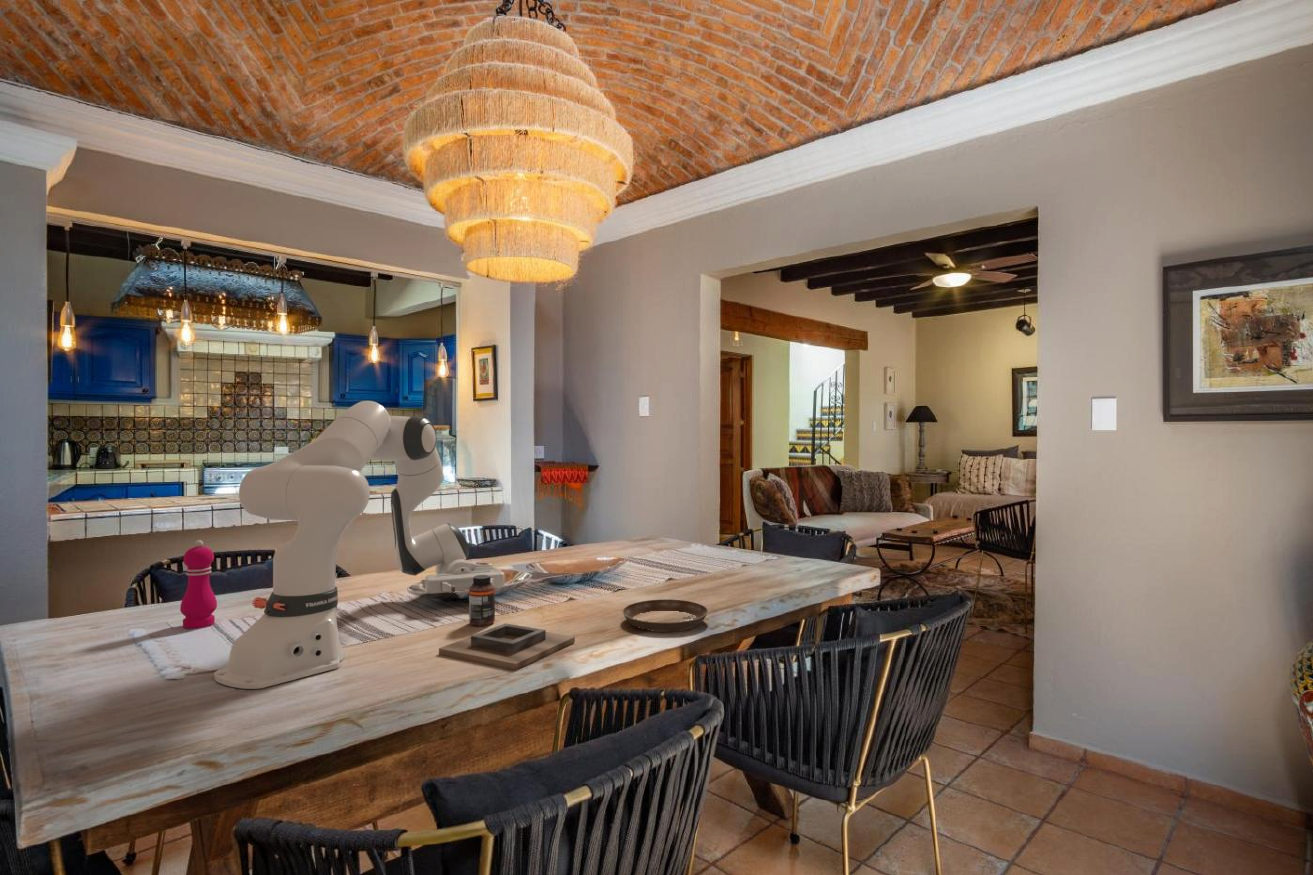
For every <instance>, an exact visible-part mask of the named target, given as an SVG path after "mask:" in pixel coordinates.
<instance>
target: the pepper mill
mask: <svg viewBox="0 0 1313 875" xmlns="http://www.w3.org/2000/svg"><path fill="white" fill-rule="evenodd" d="M214 555H215V554H214V551H213V550H212V549H211V548H209V547H207V546H204V542H203V540H201V539H198V540H195V541H194V546H193V547H192V548H191V547H190V548H189V549H188V550H186V551H185V553H184V555H183V563H184V565H185V566H186V567H187V568H186V569H185V570H186V573H185V575H186V576H187V577H188V580H187V581H188V583H187V587H186V591H185V593H184V595H183V597H182V600H181V602H180V608H179V611H180V613H181V614H182V615H183V616H184V618H183V619H182V628H183V627H184V628H183V629H187V628H195V629H202V628H201V627H203V628H208V627H211V626H213V625H214V624H215V619H216V618H215V615H214V614H213V613H214V612H215V610H216V609H217V607H218V604H217V603H218V601H217V598H216V597H217V596H216V595H215V593H214V591H213V589H212V587H211V582H210V574H211V573H212V566H211V565H212V563H213V562H214V561H215V560H214V559H215V556H214ZM212 624H213V625H212ZM210 625H211V626H210ZM207 626H208V627H207Z"/></svg>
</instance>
